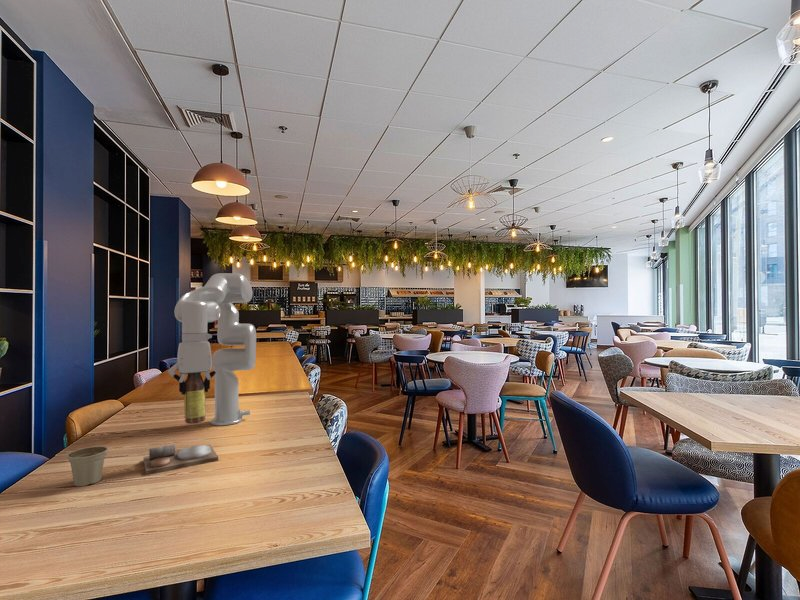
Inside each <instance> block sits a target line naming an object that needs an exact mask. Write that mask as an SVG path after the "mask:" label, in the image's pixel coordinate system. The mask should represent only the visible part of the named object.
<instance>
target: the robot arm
mask: <svg viewBox="0 0 800 600" xmlns="http://www.w3.org/2000/svg"><path fill="white" fill-rule="evenodd" d="M253 294H254V292H253V288H252V285H251V284H250V282H249V280H248V279H247V277H246V276H245V275H244V274H241V273H238V272H237V273H233V272H232V273H231V272H230V273H227V272H226V273H225V272H223V273H215V274H213V275H211V276H210V278H209V279H208V280H207V282H206V283H205V284H204V286H203V287H199V288H196V289H194V290H191V291H188V292H187V293H185V294H183V295H182V296H181V297H180V298H179V299H178V300H177V302H176V305H175V307H174V317H175V319H176V320H177V321H178V322H180V323H181V332H182V333H181V342H179V343H178V348H177V359H176V363H175V364H173V365H172V367H170V368H169V369H168V370H167V373H168V374H169V375H170V376H171V377H172V378H174V379H175V380H176V381H177V382H178V384H179V385H178V388H179V389H178V390H179V391H178V392H179V393H180V394H181V395H183V396H184V394H185V377H187V376H186V375H188V373H200V372H201V373H203V375H204V377H205V378H204V379H203V381H204V384H205V393H208V392H209V390H210V388H211V379H212V378H214V418H212V419H211V420H210V424H211V425H212V426H230V425H231V426H232V425H234V424H235V425H236V424H238V423H240V422H242V421H243V416H249V415H250V414H251V411H250V410H244V409H243V410H241V409H239V407H240V406H239V402H240V401H239V379H238V377H237V375H236V374H235V372H234V371H250V370H253V369H254V368H255V366H256V360H257V330H256V327H255V325H254V324H252V323H240V322H239V321H240V319H239V318H240V314H239V313H240V312H239V310H238V309H237V307H236V306H235V305H234V304H236V303H237V304H244V303H245V304H246V303H247V304H248V303H249V302H251V300H252V299H253ZM233 303H234V304H233ZM216 321H217V332H216V333H217V342H218V344H220V345H222V346H244V347H243V348H240V347H239V348H234V347H233V348H231V347H230V348H221V349H217V350H216V351H214V353H213V354H212V349H211V343H210V341H209V339H213V334H212V333H211V334H210V333H208V323H214V322H216ZM176 370H177V372H178V373H179V375H178V374H177V373H176V372H175V371H176Z"/></svg>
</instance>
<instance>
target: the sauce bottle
mask: <svg viewBox="0 0 800 600" xmlns="http://www.w3.org/2000/svg"><path fill="white" fill-rule="evenodd" d="M201 373H202V372H200V373H188V374H187V376H186V379H184V382H185V394H184V395H183V406H184V408H183V410H184V412H183V413H184V423H186V424H198V423H201V422H204V421H205V420H206V392H205V384H204V378H203V377H202V376H203V375H202V374H201Z"/></svg>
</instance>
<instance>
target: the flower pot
mask: <svg viewBox="0 0 800 600" xmlns="http://www.w3.org/2000/svg"><path fill="white" fill-rule="evenodd" d="M108 449H109V447H107V446H102V445H97V446H89V447H83V448H79V449H76V450H73V451H71V452H69V453H67V454H66V459H68V462H69V464H70V467H71V474H72V479H73V484H74V486H75V487H86V486H89V485H90V484H96V483H98V482H100V481H101V480H102V477H103V476H102V475H103V470H104V469H103V468H104V464H105V463H104V462H105V457H106V455H107V451H108Z"/></svg>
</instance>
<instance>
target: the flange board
mask: <svg viewBox="0 0 800 600" xmlns="http://www.w3.org/2000/svg"><path fill="white" fill-rule="evenodd" d="M148 451H149V453H148V454H149V455H145V456H143V465H144V466H143V467H144V473H145V476H148V475H152V474H157V473H159V474H160V473H162V472H168V471H173V470H178V469H182V468H187V467H194V466H197V465H202V464H207V463H212V462H218V461H219V456H218V454H217V452H216V451H215V450H214V448H213V446H212V445H211V444H207V445H204V444H203V445H194V446H192V445H191V446H188V447H185V448H181V449H180V450H179V449H178V450H176V446H175V444H171V445H170V444H169V445H164V446H159V447H152V448H149V449H148Z"/></svg>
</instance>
